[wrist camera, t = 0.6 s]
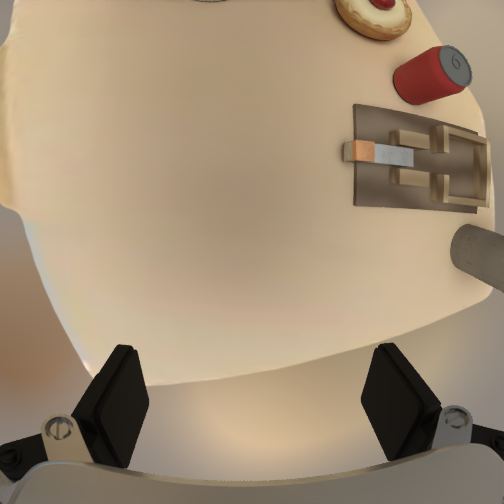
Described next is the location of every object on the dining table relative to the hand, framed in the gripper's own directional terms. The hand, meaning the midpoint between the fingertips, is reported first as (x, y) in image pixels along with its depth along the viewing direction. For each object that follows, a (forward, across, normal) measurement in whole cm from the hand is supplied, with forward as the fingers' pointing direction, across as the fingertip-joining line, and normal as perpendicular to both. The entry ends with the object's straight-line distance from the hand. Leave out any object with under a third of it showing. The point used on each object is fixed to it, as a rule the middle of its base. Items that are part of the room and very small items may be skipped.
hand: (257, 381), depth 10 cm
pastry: (+29, -18, -35) cm, 49 cm away
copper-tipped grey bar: (+28, -17, -11) cm, 34 cm away
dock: (+29, -26, -11) cm, 41 cm away
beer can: (+29, -24, -23) cm, 44 cm away
